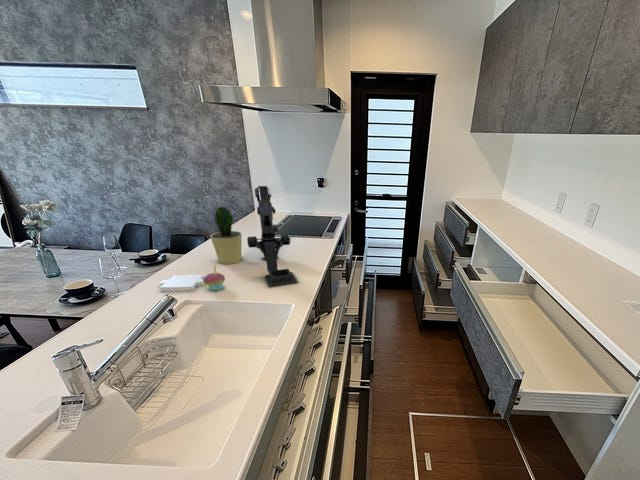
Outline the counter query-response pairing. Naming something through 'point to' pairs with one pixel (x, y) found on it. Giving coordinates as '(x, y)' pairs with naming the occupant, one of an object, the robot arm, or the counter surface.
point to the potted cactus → (226, 238)
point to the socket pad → (280, 278)
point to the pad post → (271, 256)
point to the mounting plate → (182, 283)
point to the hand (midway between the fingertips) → (271, 257)
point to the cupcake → (214, 280)
